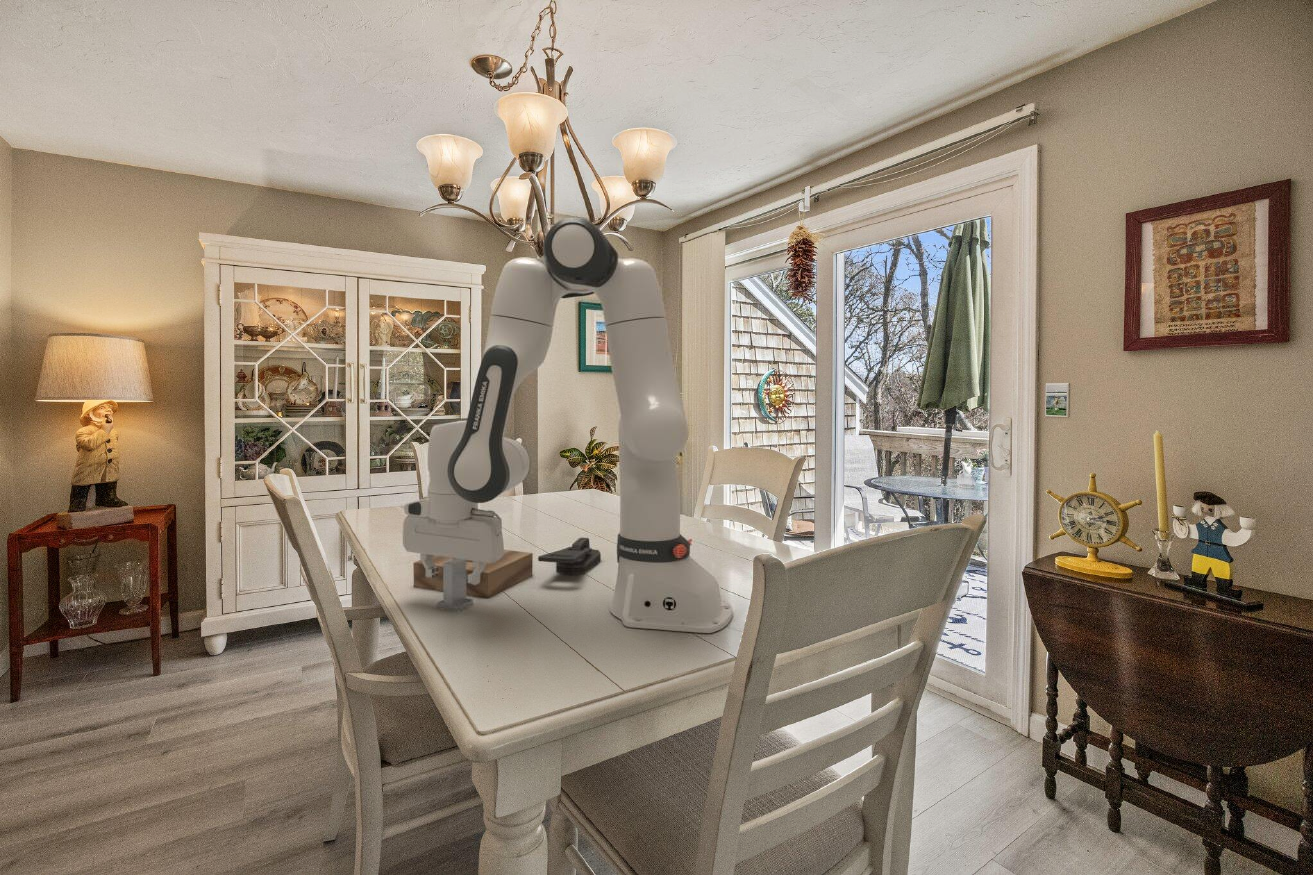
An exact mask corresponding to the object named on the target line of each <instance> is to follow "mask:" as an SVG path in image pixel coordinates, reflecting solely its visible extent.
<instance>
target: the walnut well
mask: <svg viewBox="0 0 1313 875" xmlns="http://www.w3.org/2000/svg"><path fill="white" fill-rule="evenodd" d="M454 559H455V558H448V557H441V556H434V557H432V560H433V563H434V565H435V567H438V576H437V577H434V578H428V577H426V568H425V567H424V565H423V563H422V561H421V559H420V560H417V561H414V562H413V587H414V586H415V587H414V588H420V589H426V588H427V590H433V591H438V590H440V591H441V592H443V564H444V563H446V562H449V561H451V560H454ZM533 568H534V567H533V552H527V551H518V550H512V549H511V550H510V549H504V555H503V556H502V558H501V559H500V560H498V561H496V562H493V563H486V565H485V567H484V569H483V571H482V572H481V573H480V583H479V584H476V585H473V584H468V575H469V574H472V573H473V571H474V569H475V567H473V561H469V560H466V596H472V597H477V598H478V597H479V598H484V599H489V598H492V597H494V596H495V595H497V594H499V593H501V592H504V591H505V590H508V589H509V588H512V587H513V586H515V585H517V584H519V583H521V582H523V581H525V580H526V579H528V578H530V577H533V571H534V570H533ZM440 591H439V592H440Z"/></svg>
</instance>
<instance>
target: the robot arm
mask: <svg viewBox="0 0 1313 875" xmlns="http://www.w3.org/2000/svg"><path fill="white" fill-rule="evenodd" d="M542 248H543V249H542V251H543V252H542V253H543V255H542V256H540V257H538V258H534V257H528V256H527V257H525V256H523V257H522V256H521V257H516V258H513V259H511V260H509V261H508V262H507V263H505V264H504V266H503V268H502V270H501V274H500V276H499V278H498V282H497V284H496V288H495V292H494V295H493V299H492V304H491V309H490V315H489V316H490V317H489V322H488V329H487V334H486V340H485V347H484V350H483V354H482V357H481V362H480V365H479V369H478V372H477V375H476V378H475V384H474V387H473V392H472V396H471V402H470V405H469V410H468V414H467V417H466V418H465V417H464V418H458V419H447V420H443V421H439V422H437V423H435V424H434V425H433V426H432V428H431V430H430V433H429V439H428V446H427V447H428V448H427V471H428V474H429V484H428V487H427V496H424V497H422V498H420V499H418V500H413V501H410V502H407V503H405V504H404V505H403V511H404V512H403V513H405V515H406V516H405V517H404V520H403V523H402V546H403V549H405V551H406V552H408V553H412V554H413V553H414V554H419V555H420V556H419V557H420V558H419V559H420V560H421V561H422V563H423V565H424V567H425V568H426V577H428V578H434V577H437V576H438V567H435V565H434V563H433V560H432V557H434V556H441V557H448V558H455V559H462V560H469V561H473V567H475V569H474V571H473V573H472V574H469V575H468V584H473V585H476V584H479V583H480V573H481V572H482V571H483V569H484V567H485V565H486V563H493V562H496V561H498V560H500V559H501V558H502V556H503V555H504V550H505V548H504V547H505V546H504V537H503V535H504V534H503V531H502V530H503V529H502V528H503V527H502V526H503V523H502V522H503V521H502V520H503V519H502V518H501V517H500V516H499V514H498V513H496V511H493V510H490V509H489V510H484V509H480V508H479V504H483V503H488V502H491V501H493V500H494V499H496V498H498V497H499V495H501V494H503V493H505V492H507V491H510V490H511V489H513V488H515V487H517V486H519V485H520V484H521V483H522V482H524V481H525V480H526V478H527V477H528V475H529V474H530V470H531V456H530V454H529V451H528V450H527V448H526V447H525V446H524V444H522V443H521V442H519V441H517V440H516V439H513V438H509V437H505V434H506V429H507V424H508V420H509V415H510V411H511V406H512V402H513V398H514V396H515V393H516V391H517V389H518V387H519V386H520V385H521V383H522V382H523V381H524V380H525V379H526V378H527V377H528V376H529V375H530V374H532V373H533V372H534V371H536V370H537V369H539V367H541V366H542V365H543V363H544V362H545V359H546V358H547V354H548V352H549V349H550V344H551V341H552V335H553V331H554V324H555V316H556V311H557V309H558V308H557V307H558V304H559V301H560V299H569V298H577V297H578V298H579V297H588V296H590V295H594V294H595V295H596V297H597V298H598V299H599V301H600V305H601V308H602V312H603V319H604V327H605V334H606V340H607V347H608V354H609V361H610V366H611V374H612V377H613V382H614V386H615V390H616V395H617V401H618V408H619V411H620V417H619V420H618V461H619V462H618V465H619V491H620V492H619V493H620V496H619V498H620V499H619V501H620V502H619V533H618V534H617V540H616V541H617V542H616V561H617V563H618V564H617V565H618V566H617V576H616V582H615V588H614V591H613V592H614V593H613V598H612V601H611V603H610V607H609V611H610V612H611V614H612V615H613V616H615V617H616V618H618V619H619V620H621V622H622V624H623V625H624V626H625V627H627V628H635V629H650V630H662V631H663V630H664V631H675V632H689V633H701V634H711V633H715V632H717V631H720V630H722V629H723V628H725V627H726V626H727V625H728V624H729V623H730V622H731V620H732V618H733V607H732V605H731V604H729V602H726V601H722V600H721V599H722V598H721V591H720V586H719V582H718V580H717V578H716V577H715V576H714V575H712V574H711V573H710V572H709V571H708V570H706V569H705V568H704V567H703V566H702V565H701V564H699V563H698V562H697V561H696V560H695V559H694V558H693V557H691V556H690V554H691V546H692V544H693V543H692V542H693V541H692V540H693V539H692V538H689V539H688V540H687V539H686V538H685V537H684V536H683V535H682V534H681V488H680V480H679V469H678V458H677V457H678V456H679V454H681V453H682V451H683V450H684V448H685V447H686V445H687V442H688V438H689V428H688V427H689V426H688V423H687V418H686V412H685V407H684V403H683V398H682V394H681V390H680V386H679V382H678V378H677V374H676V371H675V367H674V361H673V355H672V349H671V341H670V335H669V328H668V326H669V325H668V322H667V314H666V308H665V303H664V299H663V294H662V291H661V287H660V283H659V280H658V277H657V275H656V272H655V270H654V267H653V266H651V264H650V263H649V262H646V261H645V260H642V259H639V258H633V257H632V258H619V254H618V251H617V250H616V248H614V246H613V245H612V244H611V242H610V241H609V240H608V238H607V237H606V235H605V234H604V233H603V232H602V230H601V229H600V228H599V227H598V226H597V225H595V224H594V223H593V222H591V221H589V220H588V219H585V218H583V217H577V216H576V217H575V216H571V217H566V218H563V219H561V220H558V221H557V222H556V223H554V224H553V225H552V226H551V227H550V229H549V230H548V231H547V233H546V235H545V238H544V241H543V247H542Z"/></svg>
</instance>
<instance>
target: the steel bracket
mask: <svg viewBox="0 0 1313 875" xmlns="http://www.w3.org/2000/svg"><path fill="white" fill-rule="evenodd" d="M442 592H443V594H442V595H443V598H442V600H440V601H437V602H436V609H440V608H443V609H442V610H446V609H447V610H449V611H452V610H455V611H454V612H458V611H460V612H461V610H462V611H463V609H464V610H465V608H466V609H467V608H470V607H472V606H473V605H474V599H473V598H467V595H466V560H462V559H454V560H451V561H449V562H446V563H444V564H443V591H442ZM469 606H470V607H469Z"/></svg>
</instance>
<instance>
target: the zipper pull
mask: <svg viewBox="0 0 1313 875" xmlns="http://www.w3.org/2000/svg"><path fill="white" fill-rule="evenodd" d="M601 554H602V553H601V551H600V550H599V549H594V548H593V549H592V547H591V545H590V538H589V537H579V538H577V539H576V540H575V541H574V542H573V543H572V545H571V546H568V547H566V548H562V549H559V550H557V551H553V552H552V551H551V552H548V553H544V554H542V555H539V556H537V561H538V562H544V563H545V562H546V563H555V564H556V565H555V569H556V570H555V573H557V574H561V575H565V576H566V575H567V576H577V575H586V574H587V573H588V572H590V571H591V570H592V569H593V568H594V567H596V566H598V564H599V563H601V561H602V560H601Z"/></svg>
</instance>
